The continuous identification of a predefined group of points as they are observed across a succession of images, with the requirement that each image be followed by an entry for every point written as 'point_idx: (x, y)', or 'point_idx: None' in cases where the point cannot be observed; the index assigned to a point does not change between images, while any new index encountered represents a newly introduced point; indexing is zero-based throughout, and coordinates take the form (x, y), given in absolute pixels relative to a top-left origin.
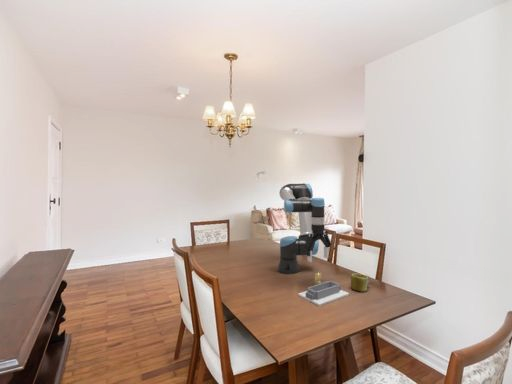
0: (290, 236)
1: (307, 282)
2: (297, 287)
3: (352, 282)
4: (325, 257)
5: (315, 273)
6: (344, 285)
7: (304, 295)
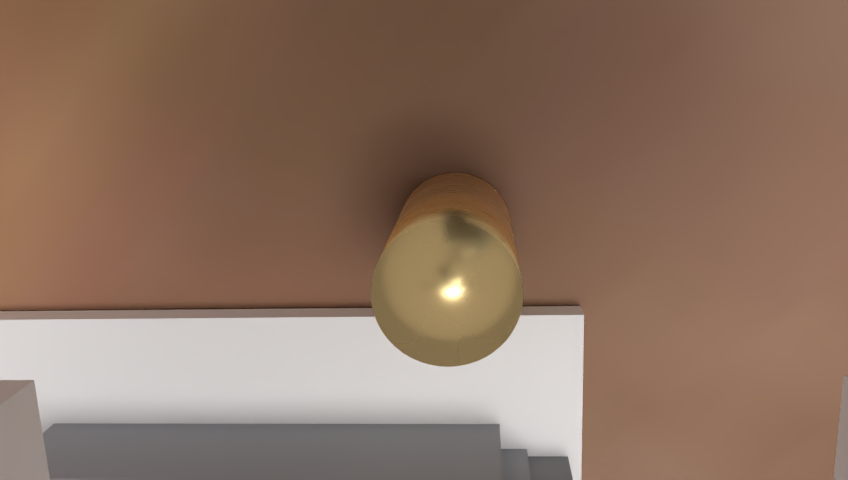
0: None
1: (418, 2)
2: (131, 81)
3: None
4: (837, 457)
5: (373, 292)
6: (821, 442)
7: None
